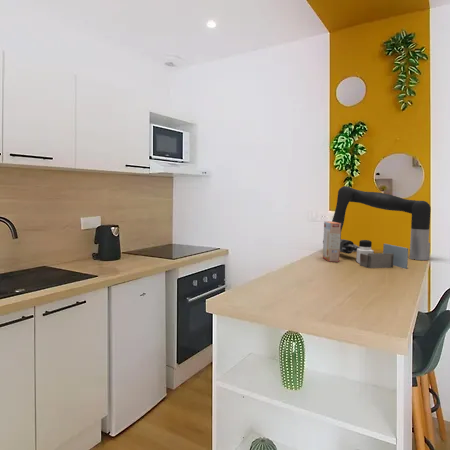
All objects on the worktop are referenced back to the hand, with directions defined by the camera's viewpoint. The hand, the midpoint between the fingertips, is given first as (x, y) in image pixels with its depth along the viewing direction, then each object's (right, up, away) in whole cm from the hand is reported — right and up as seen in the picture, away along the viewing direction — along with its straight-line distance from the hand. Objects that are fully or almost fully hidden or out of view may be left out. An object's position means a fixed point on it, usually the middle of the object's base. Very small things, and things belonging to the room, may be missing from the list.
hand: (361, 250), depth 203 cm
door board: (+14, -7, -9) cm, 18 cm away
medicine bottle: (+1, -7, -3) cm, 7 cm away
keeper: (+3, -7, -13) cm, 15 cm away
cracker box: (-15, -6, +4) cm, 17 cm away
